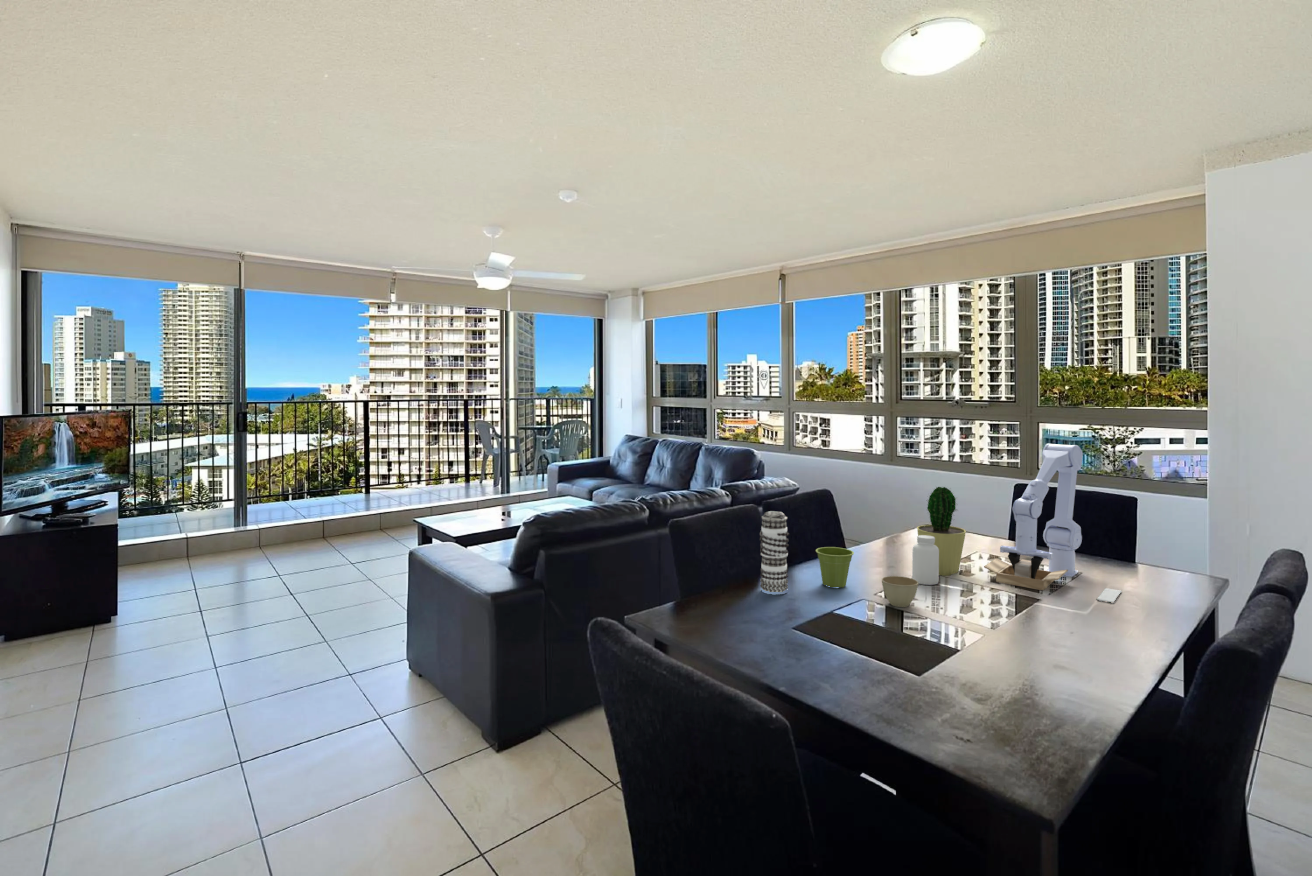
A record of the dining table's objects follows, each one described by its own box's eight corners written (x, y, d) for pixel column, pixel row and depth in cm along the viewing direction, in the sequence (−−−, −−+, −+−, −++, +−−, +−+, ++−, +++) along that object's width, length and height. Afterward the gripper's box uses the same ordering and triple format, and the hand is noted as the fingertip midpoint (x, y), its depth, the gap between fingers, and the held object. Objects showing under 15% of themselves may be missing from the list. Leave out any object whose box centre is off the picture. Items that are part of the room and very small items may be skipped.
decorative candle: (787, 586, 200) (787, 509, 198) (790, 596, 191) (791, 515, 189) (758, 586, 201) (758, 509, 199) (760, 595, 191) (760, 515, 190)
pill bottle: (933, 578, 207) (934, 534, 206) (942, 586, 199) (943, 539, 198) (908, 578, 208) (909, 533, 206) (916, 585, 200) (917, 539, 199)
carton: (995, 572, 213) (996, 558, 212) (1067, 585, 198) (1068, 569, 198) (983, 581, 203) (983, 566, 203) (1057, 594, 189) (1058, 578, 188)
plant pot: (858, 591, 195) (858, 555, 194) (820, 591, 195) (820, 555, 194) (847, 579, 206) (847, 546, 206) (811, 580, 207) (811, 546, 206)
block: (1021, 577, 205) (1021, 559, 204) (1035, 579, 202) (1035, 561, 202) (1014, 582, 199) (1014, 564, 199) (1028, 585, 196) (1029, 566, 196)
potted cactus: (918, 575, 210) (920, 487, 208) (913, 563, 225) (915, 481, 223) (968, 579, 206) (970, 489, 204) (960, 566, 220) (962, 482, 218)
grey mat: (1075, 584, 199) (1075, 582, 199) (1121, 592, 190) (1121, 590, 190) (1064, 594, 189) (1064, 593, 189) (1113, 603, 180) (1113, 601, 180)
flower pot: (921, 611, 176) (921, 586, 175) (884, 609, 178) (884, 584, 177) (914, 599, 186) (914, 576, 185) (879, 598, 188) (879, 574, 187)
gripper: (997, 534, 202) (996, 575, 203) (1049, 541, 192) (1047, 584, 193) (1004, 531, 207) (1003, 571, 208) (1054, 537, 197) (1053, 580, 198)
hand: (1025, 577), depth 200 cm, fingers closed on block, 4 cm apart
